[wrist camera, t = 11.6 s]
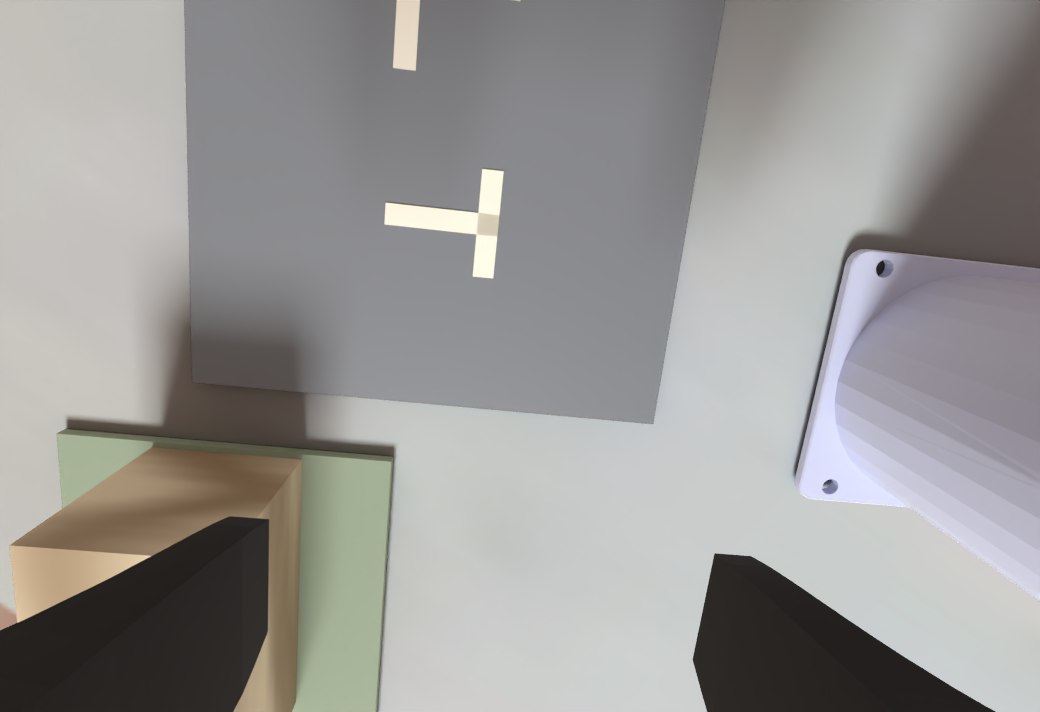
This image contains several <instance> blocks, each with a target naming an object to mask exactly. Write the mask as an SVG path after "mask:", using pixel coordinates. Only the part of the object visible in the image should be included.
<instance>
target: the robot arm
mask: <svg viewBox="0 0 1040 712" xmlns="http://www.w3.org/2000/svg"><path fill="white" fill-rule="evenodd" d="M882 260H883V262H884V263H885V269H884V271H883V273H882V274H880V275H879V276H878V275H877V273H876V267H877V265H878V263H879V262H881V261H882ZM830 479H831V480H832V482H831V484H830V486H828V487H827V488H824V489H822V486H823V484H824V482H826V481H827V480H830ZM795 487H796V489H797V490H798V491H799V492H800V493H801V494H802V495H803V496H804V497H806V498H809V499H816V500H828V501H840V502H852V503H864V504H876V505H888V506H900V507H909V508H911V509H912V510H913V511H915V512H916V513H918V514H919V515H920V516H922V517H923V518H925V519H926V520H927V521H929V522H930V523H931V524H933V525H934V526H936V527H937V528H938V529H940V530H941V531H943V532H944V533H945V534H947V535H948V536H950V537H951V538H952V539H954V540H955V541H956V542H958V543H959V544H961V545H962V546H963V547H965V548H966V549H968V550H969V551H970V552H972V553H973V554H974V555H976V556H977V557H979V558H980V559H981V560H983V561H984V562H986V563H987V564H988V565H990V566H991V567H993V568H994V569H995V570H997V571H998V572H999V573H1001V574H1002V575H1004V576H1005V577H1006V578H1008V579H1009V580H1011V581H1012V582H1013V583H1015V584H1016V585H1017V586H1019V587H1020V588H1022V589H1023V590H1024V591H1026V592H1027V593H1029V594H1030V595H1031V596H1033V597H1034V598H1036V599H1037V600H1038V601H1040V268H1031V267H1022V266H1013V265H1004V264H996V263H987V262H978V261H969V260H960V259H951V258H942V257H933V256H924V255H915V254H906V253H897V252H888V251H879V250H870V249H860V250H857V251H855V252H853V253H852V254H851V255H850V256H849V257H848V259H847V261H846V264H845V268H844V272H843V276H842V280H841V285H840V289H839V293H838V298H837V302H836V306H835V310H834V315H833V319H832V323H831V327H830V332H829V336H828V340H827V345H826V349H825V353H824V357H823V362H822V366H821V370H820V375H819V379H818V383H817V387H816V392H815V396H814V400H813V404H812V409H811V413H810V417H809V422H808V426H807V430H806V434H805V439H804V443H803V447H802V451H801V456H800V460H799V464H798V469H797V473H796V477H795ZM268 584H269V519H260V518H247V517H234V516H229V517H227V518H224V519H222V520H220V521H218V522H216V523H213V524H211V525H209V526H207V527H205V528H203V529H202V530H200V531H198V532H196V533H194V534H192V535H190V536H188V537H186V538H184V539H183V540H181V541H179V542H177V543H175V544H173V545H171V546H170V547H168V548H166V549H164V550H162V551H160V552H158V553H156V554H154V555H153V556H151V557H149V558H147V559H145V560H143V561H141V562H139V563H137V564H136V565H134V566H132V567H130V568H128V569H126V570H124V571H122V572H120V573H119V574H117V575H115V576H113V577H111V578H109V579H107V580H105V581H103V582H101V583H99V584H97V585H95V586H93V587H91V588H89V589H87V590H85V591H83V592H80V593H78V594H76V595H74V596H72V597H70V598H68V599H66V600H64V601H62V602H60V603H58V604H56V605H54V606H52V607H50V608H48V609H46V610H43V611H41V612H39V613H37V614H35V615H33V616H31V617H29V618H27V619H25V620H23V621H20V622H18V623H16V624H14V625H12V626H9V627H7V628H5V629H3V630H0V712H233V711H234V709H235V708H236V706H237V704H238V702H239V700H240V698H241V696H242V694H243V692H244V690H245V687H246V685H247V682H248V680H249V678H250V675H251V673H252V671H253V668H254V666H255V663H256V661H257V658H258V656H259V653H260V651H261V648H262V645H263V643H264V640H265V638H266V635H267V633H268ZM693 662H694V666H695V669H696V673H697V677H698V681H699V684H700V688H701V692H702V695H703V699H704V702H705V705H706V709H707V712H995V711H993V710H991V709H990V708H988V707H986V706H984V705H982V704H981V703H979V702H977V701H975V700H974V699H972V698H970V697H969V696H967V695H965V694H963V693H962V692H960V691H958V690H957V689H955V688H953V687H952V686H950V685H948V684H947V683H945V682H943V681H942V680H940V679H939V678H937V677H935V676H934V675H932V674H931V673H929V672H927V671H926V670H924V669H923V668H921V667H919V666H918V665H916V664H915V663H913V662H911V661H910V660H908V659H906V658H905V657H903V656H902V655H900V654H899V653H897V652H896V651H894V650H892V649H891V648H889V647H888V646H886V645H885V644H883V643H882V642H880V641H879V640H877V639H876V638H874V637H873V636H871V635H870V634H868V633H867V632H865V631H864V630H862V629H861V628H859V627H858V626H856V625H855V624H853V623H852V622H850V621H849V620H847V619H846V618H844V617H843V616H841V615H840V614H839V613H837V612H836V611H834V610H833V609H831V608H830V607H828V606H827V605H825V604H824V603H822V602H821V601H820V600H818V599H817V598H815V597H814V596H812V595H811V594H809V593H808V592H806V591H805V590H804V589H802V588H801V587H799V586H798V585H796V584H795V583H793V582H792V581H790V580H789V579H787V578H786V577H784V576H783V575H781V574H780V573H778V572H777V571H775V570H773V569H772V568H770V567H769V566H767V565H765V564H764V563H762V562H760V561H758V560H757V559H755V558H753V557H751V556H740V555H727V554H715V555H714V559H713V564H712V569H711V574H710V579H709V584H708V589H707V593H706V598H705V603H704V608H703V613H702V618H701V622H700V627H699V632H698V637H697V642H696V647H695V652H694V656H693Z"/></svg>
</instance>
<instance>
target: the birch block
mask: <svg viewBox="0 0 1040 712" xmlns="http://www.w3.org/2000/svg"><path fill="white" fill-rule="evenodd" d="M301 495H302V460H300V459H289V458H277V457H265V456H253V455H241V454H229V453H218V452H206V451H194V450H182V449H170V448H158V447H151V448H150V449H149V450H147V451H146V452H144V453H143V454H141V455H140V456H138V457H137V458H135V459H134V460H133V461H131V462H130V463H128V464H127V465H125V466H124V467H122V468H121V469H120V470H118V471H117V472H115V473H114V474H112V475H111V476H109V477H108V478H107V479H105V480H104V481H102V482H101V483H99V484H98V485H96V486H95V487H93V488H92V489H91V490H89V491H88V492H86V493H85V494H83V495H82V496H80V497H79V498H78V499H76V500H75V501H73V502H72V503H70V504H69V505H67V506H66V507H65V508H63V509H62V510H60V511H59V512H57V513H56V514H54V515H53V516H51V517H50V518H49V519H47V520H46V521H44V522H43V523H41V524H40V525H38V526H37V527H36V528H34V529H33V530H31V531H30V532H28V533H27V534H25V535H24V536H23V537H21V538H20V539H18V540H17V541H15V542H14V543H12V544H11V545H10V555H11V565H12V575H13V585H14V595H15V605H16V615H17V623H18V622H20V621H23V620H25V619H27V618H29V617H31V616H33V615H35V614H37V613H39V612H41V611H43V610H46V609H48V608H50V607H52V606H54V605H56V604H58V603H60V602H62V601H64V600H66V599H68V598H70V597H72V596H74V595H76V594H78V593H80V592H83V591H85V590H87V589H89V588H91V587H93V586H95V585H97V584H99V583H101V582H103V581H105V580H107V579H109V578H111V577H113V576H115V575H117V574H119V573H120V572H122V571H124V570H126V569H128V568H130V567H132V566H134V565H136V564H137V563H139V562H141V561H143V560H145V559H147V558H149V557H151V556H153V555H154V554H156V553H158V552H160V551H162V550H164V549H166V548H168V547H170V546H171V545H173V544H175V543H177V542H179V541H181V540H183V539H184V538H186V537H188V536H190V535H192V534H194V533H196V532H198V531H200V530H202V529H203V528H205V527H207V526H209V525H211V524H213V523H216V522H218V521H220V520H222V519H224V518H227V517H229V516H234V517H247V518H260V519H269V584H268V633H267V635H266V638H265V640H264V643H263V645H262V648H261V651H260V653H259V656H258V658H257V661H256V663H255V666H254V668H253V671H252V673H251V675H250V678H249V680H248V682H247V685H246V687H245V690H244V692H243V694H242V696H241V698H240V700H239V702H238V704H237V706H236V708H235V709H234V711H233V712H292V710H293V708H294V706H295V703H296V682H297V645H298V607H299V570H300V532H301Z"/></svg>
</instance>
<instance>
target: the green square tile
mask: <svg viewBox="0 0 1040 712" xmlns="http://www.w3.org/2000/svg"><path fill="white" fill-rule="evenodd" d="M57 446H58V460H59V473H60V486H61V499H62V509H63V508H65V507H66V506H67V505H69V504H70V503H72V502H73V501H75V500H76V499H78V498H79V497H80V496H82V495H83V494H85V493H86V492H88V491H89V490H91V489H92V488H93V487H95V486H96V485H98V484H99V483H101V482H102V481H104V480H105V479H107V478H108V477H109V476H111V475H112V474H114V473H115V472H117V471H118V470H120V469H121V468H122V467H124V466H125V465H127V464H128V463H130V462H131V461H133V460H134V459H135V458H137V457H138V456H140V455H141V454H143V453H144V452H146V451H147V450H149V449H150V448H151V447H158V448H170V449H182V450H194V451H206V452H218V453H229V454H241V455H253V456H265V457H277V458H289V459H300V460H302V495H301V532H300V570H299V607H298V645H297V682H296V703H295V706H294V708H293V710H292V712H377V707H378V691H379V676H380V660H381V644H382V628H383V613H384V597H385V581H386V565H387V550H388V534H389V518H390V502H391V487H392V471H393V457H391V456H380V455H368V454H356V453H344V452H332V451H321V450H309V449H297V448H285V447H273V446H261V445H250V444H238V443H226V442H214V441H202V440H191V439H179V438H167V437H155V436H143V435H132V434H120V433H108V432H96V431H84V430H72V429H65V430H63V431H61V432H59V433H57Z"/></svg>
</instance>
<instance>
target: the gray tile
mask: <svg viewBox="0 0 1040 712" xmlns="http://www.w3.org/2000/svg"><path fill="white" fill-rule="evenodd" d="M724 4H725V0H184V15H185V65H186V114H187V163H188V213H189V262H190V312H191V361H192V383H203V384H214V385H226V386H237V387H248V388H259V389H270V390H281V391H292V392H303V393H314V394H325V395H336V396H347V397H358V398H369V399H380V400H391V401H402V402H413V403H424V404H435V405H446V406H457V407H469V408H480V409H491V410H502V411H513V412H524V413H535V414H546V415H557V416H568V417H579V418H590V419H601V420H612V421H623V422H634V423H645V424H653V422H654V416H655V410H656V404H657V398H658V392H659V387H660V381H661V375H662V369H663V363H664V357H665V351H666V345H667V340H668V334H669V328H670V322H671V316H672V310H673V304H674V298H675V292H676V287H677V281H678V275H679V269H680V263H681V257H682V251H683V245H684V239H685V234H686V228H687V222H688V216H689V210H690V204H691V198H692V192H693V187H694V181H695V175H696V169H697V163H698V157H699V151H700V145H701V139H702V134H703V128H704V122H705V116H706V110H707V104H708V98H709V92H710V86H711V81H712V75H713V69H714V63H715V57H716V51H717V45H718V39H719V34H720V28H721V22H722V16H723V10H724Z"/></svg>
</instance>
